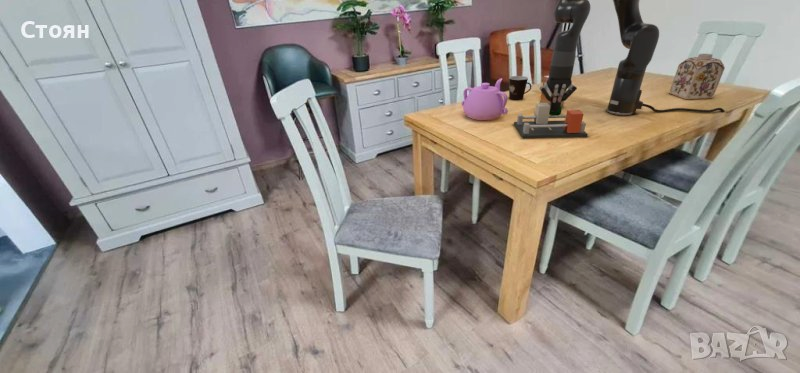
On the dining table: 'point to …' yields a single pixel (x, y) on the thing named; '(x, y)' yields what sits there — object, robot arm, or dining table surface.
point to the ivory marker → (542, 113)
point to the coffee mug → (517, 87)
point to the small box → (543, 99)
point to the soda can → (558, 110)
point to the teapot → (485, 102)
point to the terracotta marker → (573, 121)
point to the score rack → (546, 128)
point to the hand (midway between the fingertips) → (553, 111)
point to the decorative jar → (697, 77)
